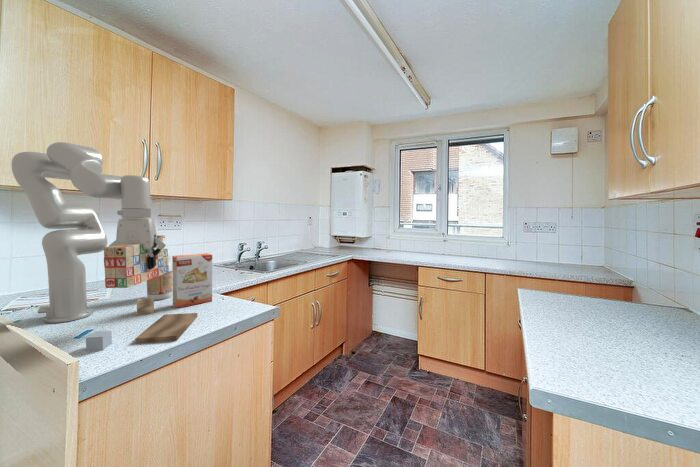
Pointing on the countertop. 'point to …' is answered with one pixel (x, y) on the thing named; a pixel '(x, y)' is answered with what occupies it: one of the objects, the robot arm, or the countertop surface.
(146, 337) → the walnut board
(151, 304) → the beech cube
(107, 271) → the stack of blocks
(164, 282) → the fruit juice
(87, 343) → the slate cube
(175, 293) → the cracker box
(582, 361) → the countertop surface
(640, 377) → the countertop surface
